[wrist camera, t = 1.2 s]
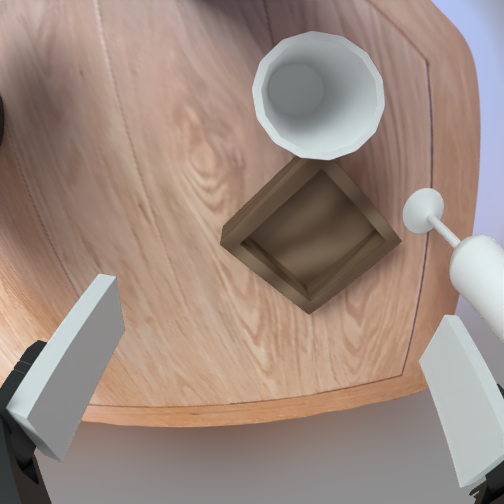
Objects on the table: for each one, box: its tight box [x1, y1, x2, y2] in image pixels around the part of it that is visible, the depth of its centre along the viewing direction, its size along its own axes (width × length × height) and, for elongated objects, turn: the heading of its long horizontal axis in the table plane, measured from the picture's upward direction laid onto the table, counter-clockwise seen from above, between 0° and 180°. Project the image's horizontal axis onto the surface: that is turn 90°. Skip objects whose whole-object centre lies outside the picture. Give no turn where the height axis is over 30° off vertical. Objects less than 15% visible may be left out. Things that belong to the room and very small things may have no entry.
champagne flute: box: [402, 188, 504, 343], centre depth 28 cm, size 7×7×24 cm
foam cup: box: [252, 31, 385, 160], centre depth 25 cm, size 10×9×13 cm
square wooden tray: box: [220, 156, 402, 314], centre depth 37 cm, size 15×15×4 cm
